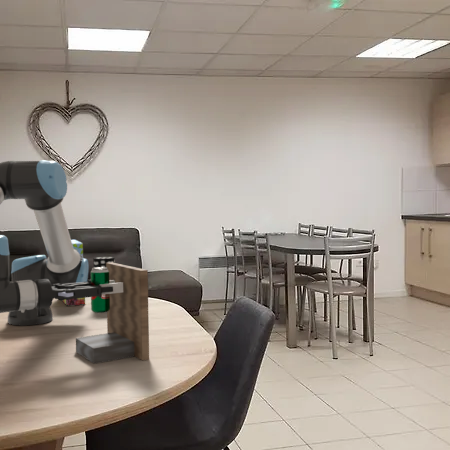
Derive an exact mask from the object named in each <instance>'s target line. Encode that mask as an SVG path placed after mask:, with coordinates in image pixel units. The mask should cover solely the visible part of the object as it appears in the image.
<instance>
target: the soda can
mask: <svg viewBox="0 0 450 450" xmlns="http://www.w3.org/2000/svg"><path fill="white" fill-rule="evenodd" d="M89 272H90V280H91V286H98V285H100V284H109V283H110V281H109V270H108V268H107V267H96V268H94V267H92V268H91V271H89ZM90 304H91V305H90V310H91V311H92V312H93V313H95V314H98V313H99V314H100V313H101V314H102V313H107V312H108V311H109V310H110V294H103V295H102V296H101V298H99V296H96V297H90Z"/></svg>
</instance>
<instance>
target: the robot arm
mask: <svg viewBox="0 0 450 450" xmlns="http://www.w3.org/2000/svg"><path fill="white" fill-rule="evenodd" d="M67 193H68V182H67V175H66V173H65V170H64V168H63V166H62V165H61V163H59V162H58V161H55V160H46V159H40V160H6V161H2V162H0V205H1V204H2V203H3V202H4V201H6V200H24V201H25V205H26V206H27V208H28V209H29V210H31V211H33V212H34V216H35V219H36V223H37V225H38V229H39V231H40V234H41V238H42V240H43V243H44V246H45V250H46V253H47V256H48V257H47V256H46V255H45V254H37V255H31V256H30V255H29V256H25V257H20V258H16V259H14V260H13V261H12V262H11V272H10V255H11V253H10V248H9V239H8V237H7V236H6V235H4V234H0V314H2V313H8V315H7V323H9V325H11V324H12V325H13V326H35V325H42V324H46V323H49V322H52V321H53V318H54V317H53V314H54V313H53V312H52V308H51V306H52V304H53V300H57V301H62V300H70V299H77V298H85V299H86V298H91V297H96V296H99V298H101V296H102V295H103V294H112V293H122V292H123V282H120V283H115V280H110V283H109V284H100V285H98V286H91V279H88V278H89V268H90V267H89V260H88V259H87V258H84V257H83V258H82V259H81V257H80V254H79V253H78V252H77V251H76V250H74V249H73V245H72V242H71V240H72V238H71V234H70V232H69V229H68V225H67V221H66V220H67V219H66V217H65V214H64V210H63V206H62V202H63V200H64V198H65V197H66V195H67ZM10 274H11V276H10ZM10 278H11V280H10Z"/></svg>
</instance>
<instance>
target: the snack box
mask: <svg viewBox="0 0 450 450" xmlns="http://www.w3.org/2000/svg"><path fill="white" fill-rule="evenodd" d="M71 242H72V245H73V249H74V250H76V251H77V252H78V253H79V254H80V257H81V259H82V258H84V244H83V242H81V241H79V240H77V239H71ZM62 302H63V303H64V305H65V304H66V305H75V306H81V305H80V304H85V305H86V298H77V299H70V300H63V301H62ZM66 305H65V306H66Z"/></svg>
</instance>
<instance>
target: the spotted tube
mask: <svg viewBox="0 0 450 450" xmlns="http://www.w3.org/2000/svg"><path fill="white" fill-rule="evenodd" d="M115 258H116V257H114V256H97V257H93V263H92V265H93V268H96V267H106V263H111V262H113V263H116V261H115V260H116V259H115Z"/></svg>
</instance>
